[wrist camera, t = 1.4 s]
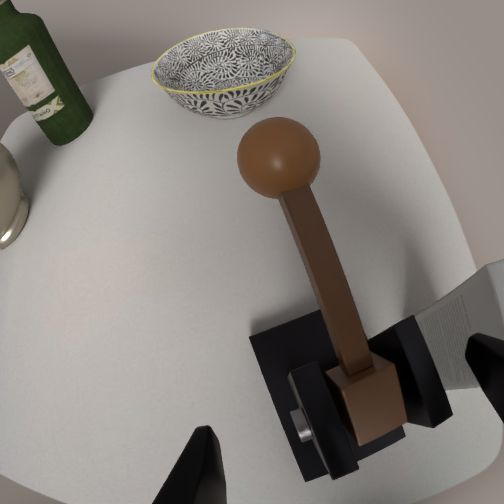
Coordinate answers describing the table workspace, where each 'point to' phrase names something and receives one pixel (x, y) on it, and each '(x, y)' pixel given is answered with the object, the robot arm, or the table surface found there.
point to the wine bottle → (41, 76)
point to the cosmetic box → (464, 323)
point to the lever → (323, 275)
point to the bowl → (224, 70)
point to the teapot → (11, 199)
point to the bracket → (320, 396)
